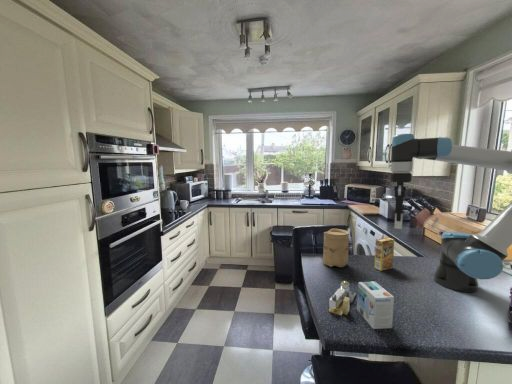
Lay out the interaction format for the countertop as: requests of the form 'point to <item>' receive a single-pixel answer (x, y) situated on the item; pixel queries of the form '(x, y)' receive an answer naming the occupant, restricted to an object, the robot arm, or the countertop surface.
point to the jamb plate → (351, 296)
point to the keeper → (342, 307)
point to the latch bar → (339, 295)
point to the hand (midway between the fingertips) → (398, 228)
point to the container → (336, 247)
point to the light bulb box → (375, 305)
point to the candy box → (384, 253)
